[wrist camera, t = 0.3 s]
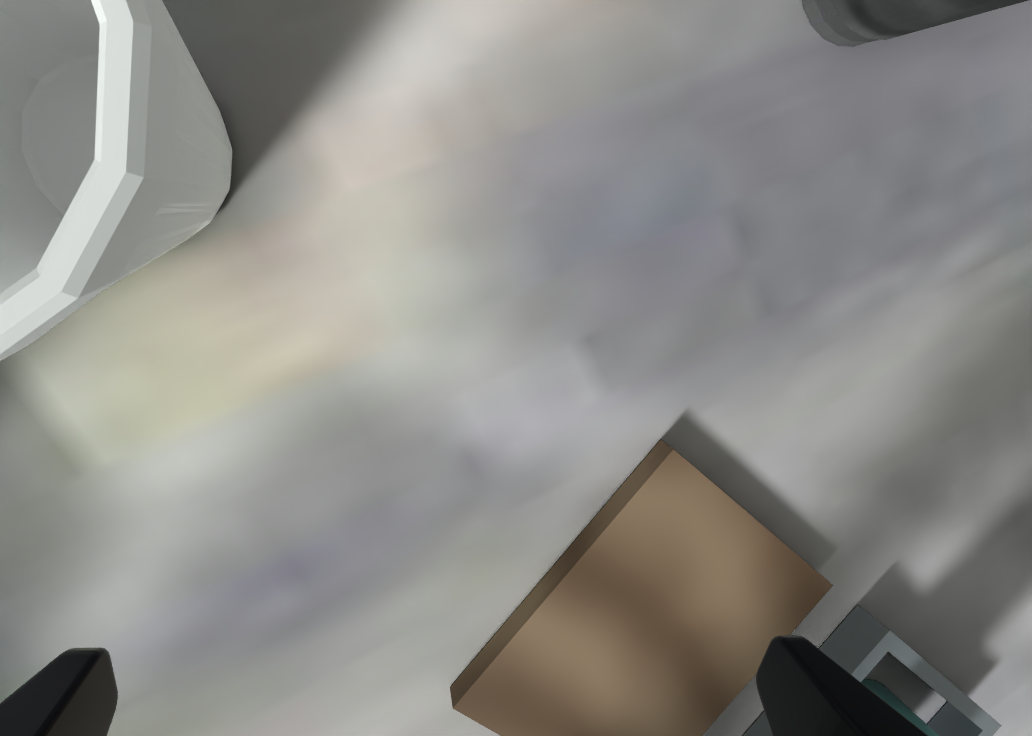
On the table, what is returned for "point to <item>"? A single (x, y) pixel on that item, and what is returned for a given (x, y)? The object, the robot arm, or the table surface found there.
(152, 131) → the cup
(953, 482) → the table surface
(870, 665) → the tray
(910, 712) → the canister
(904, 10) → the beverage cup
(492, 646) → the pad
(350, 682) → the table surface
